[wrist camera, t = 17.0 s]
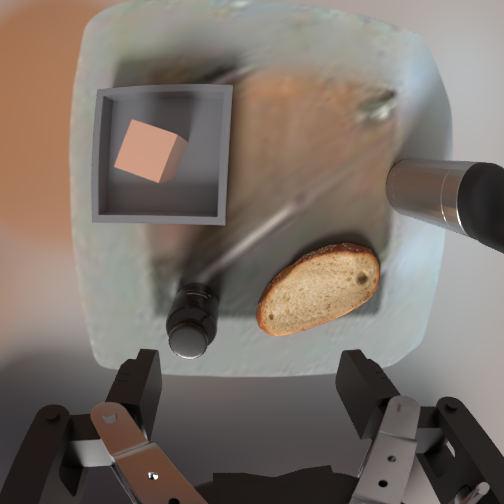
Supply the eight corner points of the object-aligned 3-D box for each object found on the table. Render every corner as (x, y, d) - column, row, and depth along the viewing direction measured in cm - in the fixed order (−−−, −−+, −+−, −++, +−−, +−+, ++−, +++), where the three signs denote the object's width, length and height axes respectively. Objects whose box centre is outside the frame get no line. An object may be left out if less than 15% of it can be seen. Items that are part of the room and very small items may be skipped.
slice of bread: (249, 328, 49) (251, 340, 46) (284, 221, 45) (290, 225, 42) (345, 346, 52) (352, 357, 49) (385, 252, 48) (395, 259, 45)
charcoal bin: (231, 94, 39) (232, 85, 35) (225, 218, 44) (225, 225, 39) (110, 96, 38) (97, 89, 33) (105, 216, 42) (92, 222, 38)
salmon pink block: (152, 129, 39) (131, 119, 29) (188, 142, 40) (177, 134, 30) (138, 166, 40) (114, 166, 30) (173, 179, 41) (158, 182, 31)
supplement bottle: (206, 274, 46) (201, 309, 35) (225, 312, 48) (227, 355, 36) (166, 292, 46) (150, 330, 35) (187, 327, 48) (178, 372, 37)
